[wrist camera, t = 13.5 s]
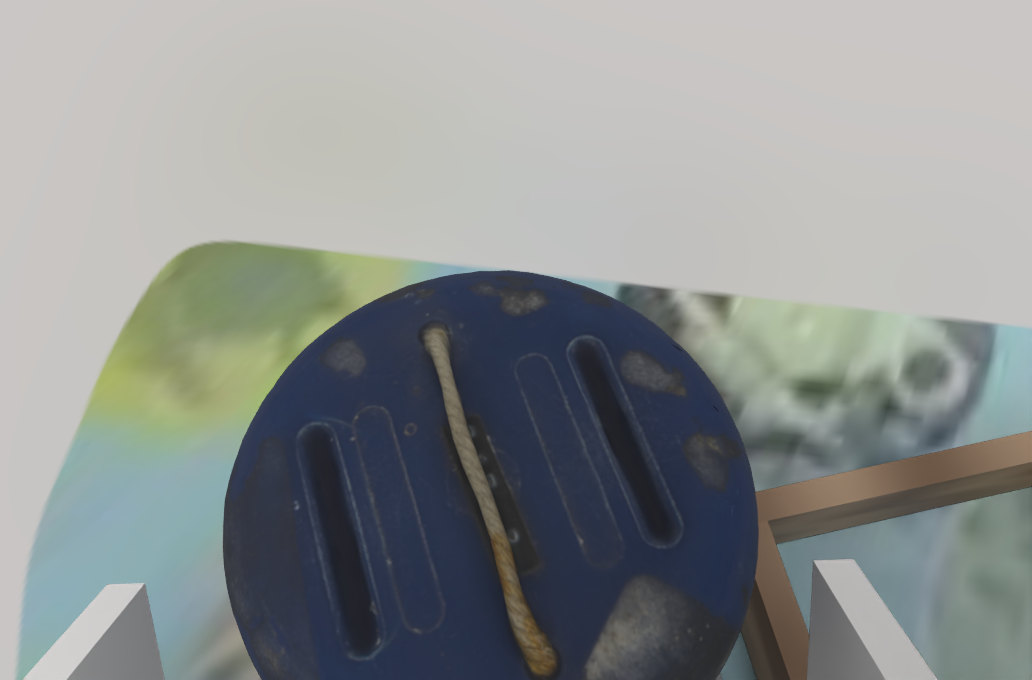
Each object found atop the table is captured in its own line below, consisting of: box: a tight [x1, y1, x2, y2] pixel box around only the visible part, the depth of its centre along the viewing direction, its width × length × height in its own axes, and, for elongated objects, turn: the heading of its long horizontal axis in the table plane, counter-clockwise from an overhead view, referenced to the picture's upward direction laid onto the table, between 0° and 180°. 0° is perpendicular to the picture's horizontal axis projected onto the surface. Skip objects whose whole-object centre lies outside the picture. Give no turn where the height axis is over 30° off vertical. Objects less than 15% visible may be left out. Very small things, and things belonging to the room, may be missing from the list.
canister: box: [223, 270, 759, 680], centre depth 20 cm, size 10×10×18 cm
